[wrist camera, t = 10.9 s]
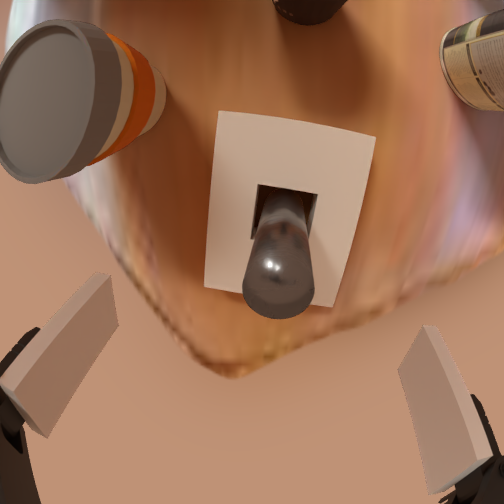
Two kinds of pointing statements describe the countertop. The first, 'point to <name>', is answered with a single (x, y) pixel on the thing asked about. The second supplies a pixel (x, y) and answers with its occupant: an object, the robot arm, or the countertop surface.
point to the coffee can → (476, 61)
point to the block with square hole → (290, 177)
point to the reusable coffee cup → (72, 99)
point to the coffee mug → (308, 10)
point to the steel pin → (280, 259)
